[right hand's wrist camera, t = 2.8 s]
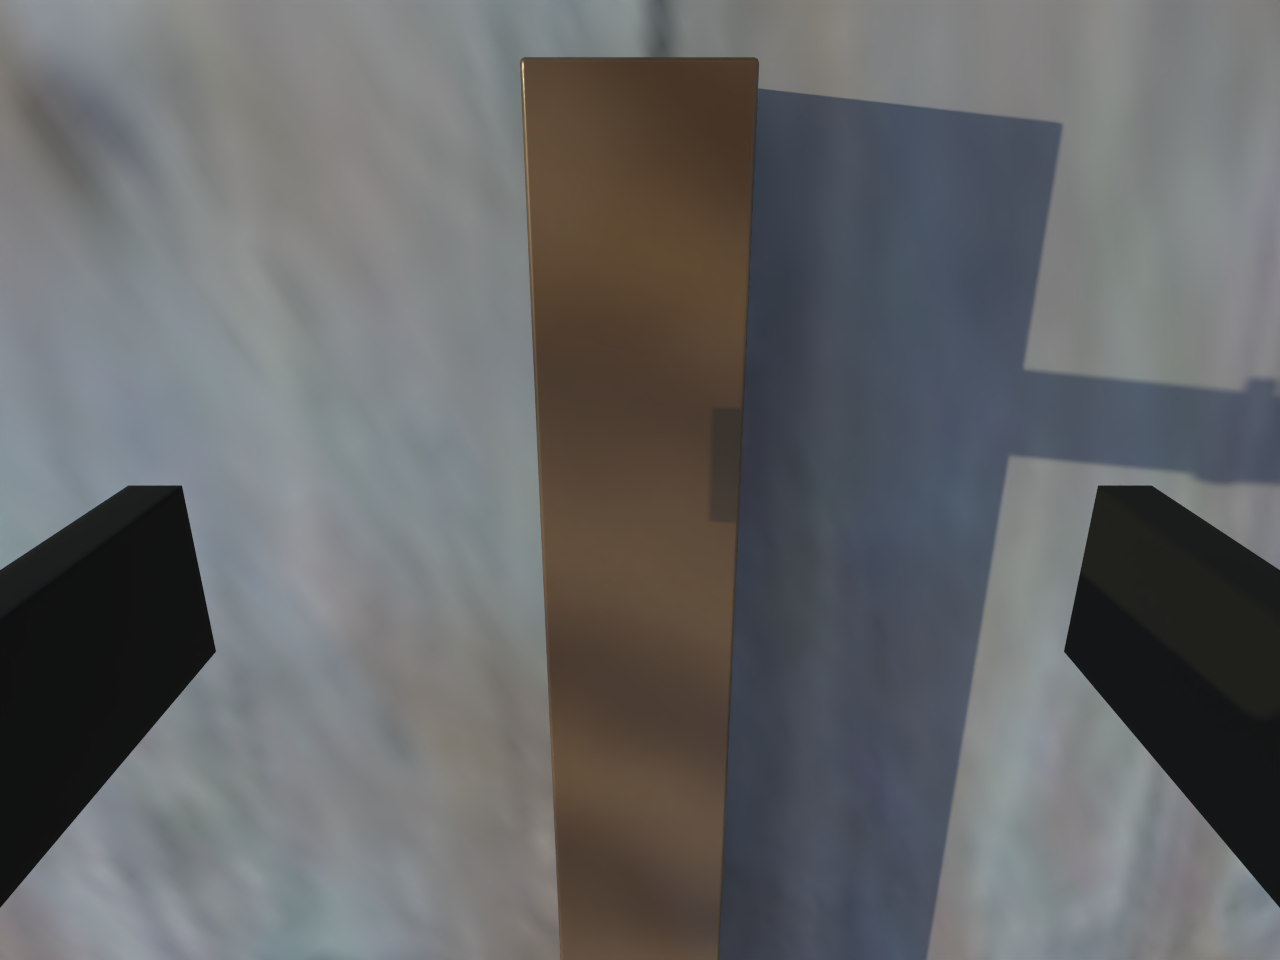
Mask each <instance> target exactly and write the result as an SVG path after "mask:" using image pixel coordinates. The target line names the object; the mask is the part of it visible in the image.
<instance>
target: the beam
mask: <svg viewBox="0 0 1280 960" xmlns="http://www.w3.org/2000/svg"><path fill="white" fill-rule="evenodd" d="M520 73H521V95H522V117H523V139H524V161H525V183H526V206H527V228H528V250H529V272H530V294H531V316H532V338H533V360H534V382H535V405H536V427H537V449H538V471H539V493H540V515H541V537H542V559H543V581H544V604H545V626H546V648H547V670H548V692H549V714H550V736H551V758H552V780H553V803H554V825H555V847H556V869H557V891H558V913H559V935H560V957H561V960H719V944H720V921H721V899H722V877H723V855H724V832H725V810H726V788H727V765H728V743H729V721H730V699H731V676H732V654H733V632H734V609H735V587H736V565H737V543H738V520H739V498H740V476H741V453H742V431H743V409H744V387H745V364H746V342H747V320H748V298H749V275H750V253H751V231H752V208H753V186H754V164H755V142H756V119H757V97H758V75H759V61H758V59H757V58H754V57H525V58H523V59H521V62H520Z"/></svg>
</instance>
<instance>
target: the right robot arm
mask: <svg viewBox="0 0 1280 960" xmlns="http://www.w3.org/2000/svg"><path fill="white" fill-rule="evenodd" d="M215 652H216V650H215V645H214V640H213V635H212V630H211V625H210V620H209V615H208V611H207V606H206V601H205V596H204V591H203V586H202V581H201V577H200V572H199V567H198V562H197V557H196V552H195V547H194V542H193V538H192V533H191V528H190V523H189V518H188V513H187V508H186V504H185V499H184V494H183V489H182V486H127V487H126V488H124V489H123V490H121V491H120V492H118V493H116V494H115V495H113V496H112V497H110V498H109V499H107V500H106V501H104V502H103V503H101V504H100V505H98V506H97V507H95V508H94V509H92V510H91V511H89V512H88V513H86V514H85V515H83V516H82V517H80V518H79V519H77V520H76V521H74V522H73V523H71V524H70V525H68V526H67V527H65V528H63V529H62V530H60V531H59V532H57V533H56V534H54V535H53V536H51V537H50V538H48V539H47V540H45V541H44V542H42V543H41V544H39V545H38V546H36V547H35V548H33V549H32V550H30V551H29V552H27V553H26V554H24V555H23V556H21V557H20V558H18V559H17V560H15V561H13V562H12V563H10V564H9V565H7V566H6V567H4V568H3V569H1V570H0V907H1V906H2V905H3V904H4V903H5V901H6V900H7V899H8V898H9V897H10V895H11V894H12V893H13V892H14V891H15V889H16V888H17V887H18V886H19V885H20V884H21V882H22V881H23V880H24V879H25V878H26V876H27V875H28V874H29V873H30V872H31V870H32V869H33V868H34V867H35V866H36V865H37V863H38V862H39V861H40V860H41V859H42V857H43V856H44V855H45V854H46V853H47V851H48V850H49V849H50V848H51V847H52V846H53V844H54V843H55V842H56V841H57V840H58V838H59V837H60V836H61V835H62V834H63V832H64V831H65V830H66V829H67V828H68V827H69V825H70V824H71V823H72V822H73V821H74V819H75V818H76V817H77V816H78V815H79V813H80V812H81V811H82V810H83V809H84V808H85V806H86V805H87V804H88V803H89V802H90V800H91V799H92V798H93V797H94V796H95V794H96V793H97V792H98V791H99V790H100V789H101V787H102V786H103V785H104V784H105V783H106V781H107V780H108V779H109V778H110V777H111V775H112V774H113V773H114V772H115V771H116V770H117V768H118V767H119V766H120V765H121V764H122V762H123V761H124V760H125V759H126V758H127V756H128V755H129V754H130V753H131V752H132V751H133V749H134V748H135V747H136V746H137V745H138V743H139V742H140V741H141V740H142V739H143V737H144V736H145V735H146V734H147V733H148V732H149V730H150V729H151V728H152V727H153V726H154V724H155V723H156V722H157V721H158V720H159V718H160V717H161V716H162V715H163V714H164V713H165V711H166V710H167V709H168V708H169V707H170V705H171V704H172V703H173V702H174V701H175V699H176V698H177V697H178V696H179V695H180V694H181V692H182V691H183V690H184V689H185V688H186V686H187V685H188V684H189V683H190V682H191V680H192V679H193V678H194V677H195V676H196V675H197V673H198V672H199V671H200V670H201V669H202V667H203V666H204V665H205V664H206V663H207V661H208V660H209V659H210V658H211V657H212V656H213V654H214V653H215ZM1064 652H1065V653H1066V654H1067V656H1068V657H1069V658H1070V659H1071V660H1072V661H1073V663H1074V664H1075V665H1076V666H1077V667H1078V669H1079V670H1080V671H1081V672H1082V673H1083V675H1084V676H1085V677H1086V678H1087V679H1088V680H1089V682H1090V683H1091V684H1092V685H1093V686H1094V688H1095V689H1096V690H1097V691H1098V692H1099V694H1100V695H1101V696H1102V697H1103V698H1104V699H1105V701H1106V702H1107V703H1108V704H1109V705H1110V707H1111V708H1112V709H1113V710H1114V711H1115V713H1116V714H1117V715H1118V716H1119V717H1120V718H1121V720H1122V721H1123V722H1124V723H1125V724H1126V726H1127V727H1128V728H1129V729H1130V730H1131V732H1132V733H1133V734H1134V735H1135V736H1136V737H1137V739H1138V740H1139V741H1140V742H1141V743H1142V745H1143V746H1144V747H1145V748H1146V749H1147V751H1148V752H1149V753H1150V754H1151V755H1152V756H1153V758H1154V759H1155V760H1156V761H1157V762H1158V764H1159V765H1160V766H1161V767H1162V768H1163V770H1164V771H1165V772H1166V773H1167V774H1168V775H1169V777H1170V778H1171V779H1172V780H1173V781H1174V783H1175V784H1176V785H1177V786H1178V787H1179V789H1180V790H1181V791H1182V792H1183V793H1184V794H1185V796H1186V797H1187V798H1188V799H1189V800H1190V802H1191V803H1192V804H1193V805H1194V806H1195V808H1196V809H1197V810H1198V811H1199V812H1200V813H1201V815H1202V816H1203V817H1204V818H1205V819H1206V821H1207V822H1208V823H1209V824H1210V825H1211V827H1212V828H1213V829H1214V830H1215V831H1216V832H1217V834H1218V835H1219V836H1220V837H1221V838H1222V840H1223V841H1224V842H1225V843H1226V844H1227V846H1228V847H1229V848H1230V849H1231V850H1232V851H1233V853H1234V854H1235V855H1236V856H1237V857H1238V859H1239V860H1240V861H1241V862H1242V863H1243V865H1244V866H1245V867H1246V868H1247V869H1248V870H1249V872H1250V873H1251V874H1252V875H1253V876H1254V878H1255V879H1256V880H1257V881H1258V882H1259V884H1260V885H1261V886H1262V887H1263V888H1264V889H1265V891H1266V892H1267V893H1268V894H1269V895H1270V897H1271V898H1272V899H1273V900H1274V901H1275V903H1276V904H1277V905H1278V906H1279V907H1280V570H1279V569H1277V568H1276V567H1274V566H1273V565H1271V564H1270V563H1268V562H1267V561H1265V560H1263V559H1262V558H1260V557H1259V556H1257V555H1256V554H1254V553H1253V552H1251V551H1250V550H1248V549H1247V548H1245V547H1244V546H1242V545H1241V544H1239V543H1238V542H1236V541H1235V540H1233V539H1232V538H1230V537H1229V536H1227V535H1226V534H1224V533H1223V532H1221V531H1220V530H1218V529H1217V528H1215V527H1213V526H1212V525H1210V524H1209V523H1207V522H1206V521H1204V520H1203V519H1201V518H1200V517H1198V516H1197V515H1195V514H1194V513H1192V512H1191V511H1189V510H1188V509H1186V508H1185V507H1183V506H1182V505H1180V504H1179V503H1177V502H1176V501H1174V500H1173V499H1171V498H1170V497H1168V496H1167V495H1165V494H1164V493H1162V492H1160V491H1159V490H1157V489H1156V488H1154V487H1153V486H1098V489H1097V494H1096V499H1095V504H1094V508H1093V513H1092V518H1091V523H1090V528H1089V533H1088V538H1087V542H1086V547H1085V552H1084V557H1083V562H1082V567H1081V572H1080V577H1079V581H1078V586H1077V591H1076V596H1075V601H1074V606H1073V611H1072V615H1071V620H1070V625H1069V630H1068V635H1067V640H1066V645H1065V650H1064Z"/></svg>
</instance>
